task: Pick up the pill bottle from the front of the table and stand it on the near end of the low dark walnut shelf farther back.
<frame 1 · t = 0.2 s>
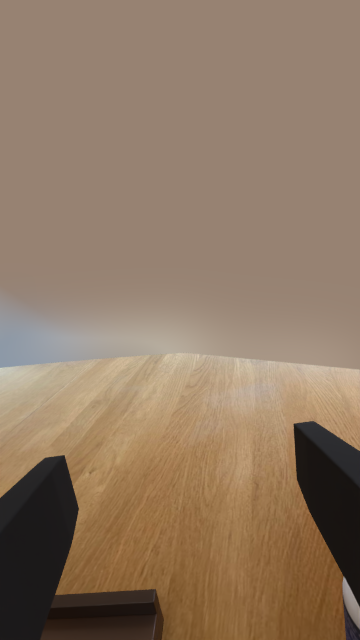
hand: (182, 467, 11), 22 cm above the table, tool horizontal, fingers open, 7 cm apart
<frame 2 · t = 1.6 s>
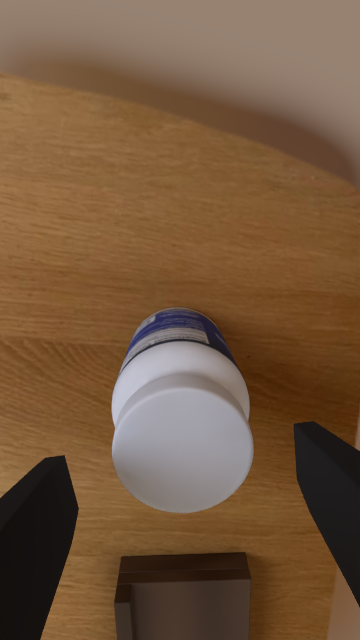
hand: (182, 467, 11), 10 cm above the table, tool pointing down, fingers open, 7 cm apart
pill bottle: (177, 349, 21), on the table
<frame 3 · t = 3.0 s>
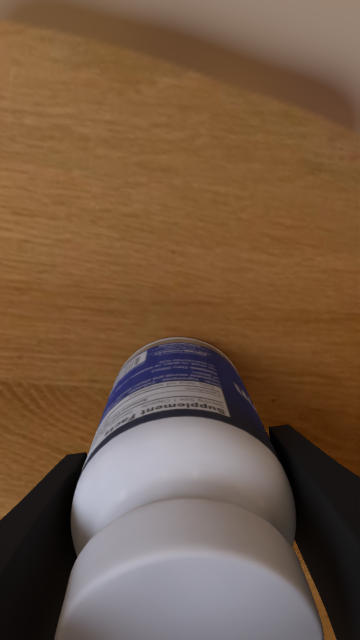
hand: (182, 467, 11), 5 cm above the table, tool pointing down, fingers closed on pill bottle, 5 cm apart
pill bottle: (178, 391, 16), on the table, touching gripper
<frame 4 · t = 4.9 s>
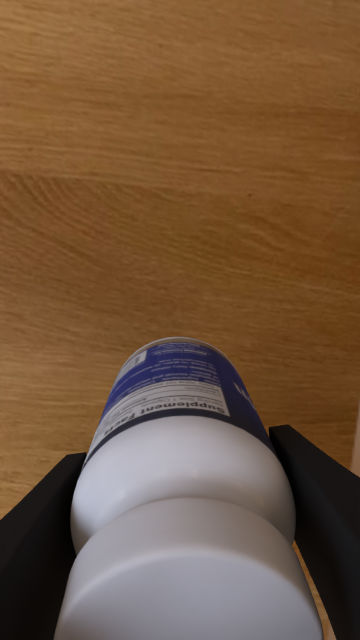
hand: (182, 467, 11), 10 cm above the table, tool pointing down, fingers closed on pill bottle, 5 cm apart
pill bottle: (178, 390, 16), point 5 cm above the table, touching gripper
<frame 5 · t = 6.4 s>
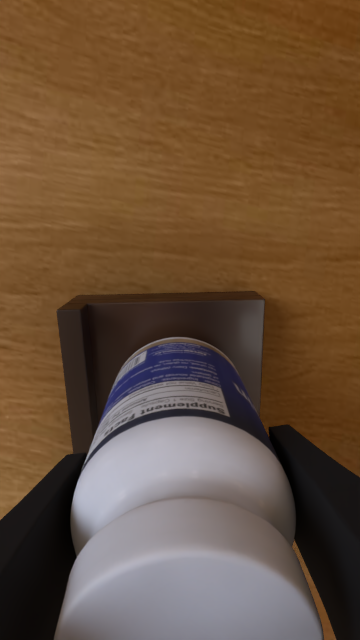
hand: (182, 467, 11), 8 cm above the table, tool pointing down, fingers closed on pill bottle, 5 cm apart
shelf: (173, 518, 21), on the table
pill bottle: (178, 391, 16), point 3 cm above the table, touching gripper
when the fingers open (7 cm above the table, at t = 7.3 s): pill bottle stays where it is, resting on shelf.
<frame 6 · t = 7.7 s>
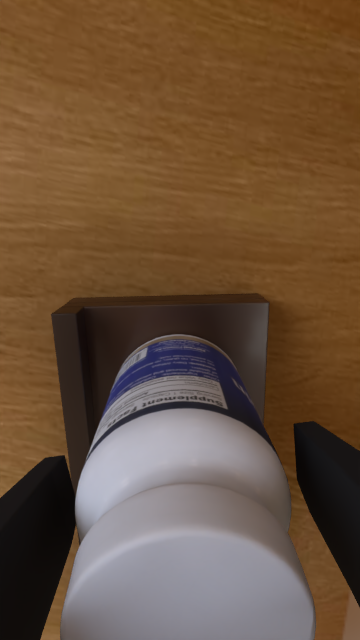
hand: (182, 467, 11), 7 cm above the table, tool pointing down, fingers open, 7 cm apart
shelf: (173, 527, 20), on the table
pill bottle: (178, 387, 16), point 2 cm above the table, touching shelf
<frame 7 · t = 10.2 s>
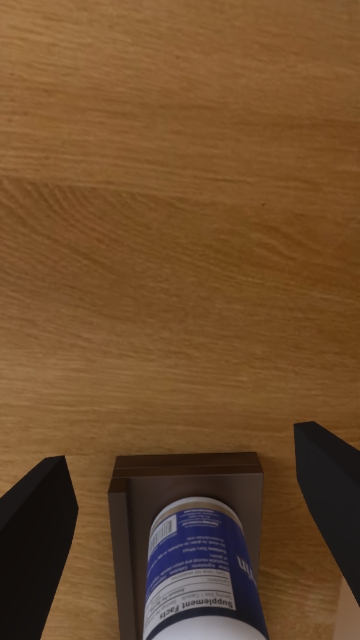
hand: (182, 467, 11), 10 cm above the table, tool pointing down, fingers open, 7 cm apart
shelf: (188, 614, 26), on the table
pill bottle: (195, 527, 21), point 2 cm above the table, touching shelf
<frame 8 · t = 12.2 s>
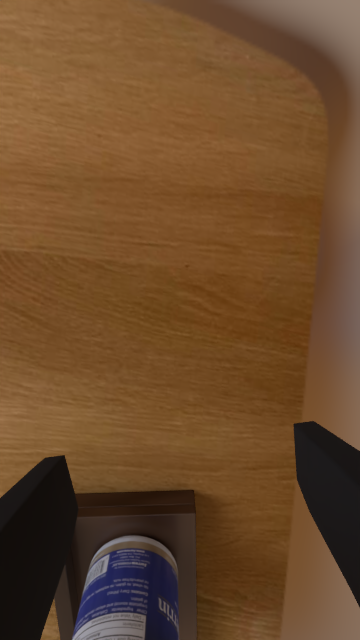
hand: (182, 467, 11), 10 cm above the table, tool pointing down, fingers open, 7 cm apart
pill bottle: (134, 562, 22), point 2 cm above the table, touching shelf
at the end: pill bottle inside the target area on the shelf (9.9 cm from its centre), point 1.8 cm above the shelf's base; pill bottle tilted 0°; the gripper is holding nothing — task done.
